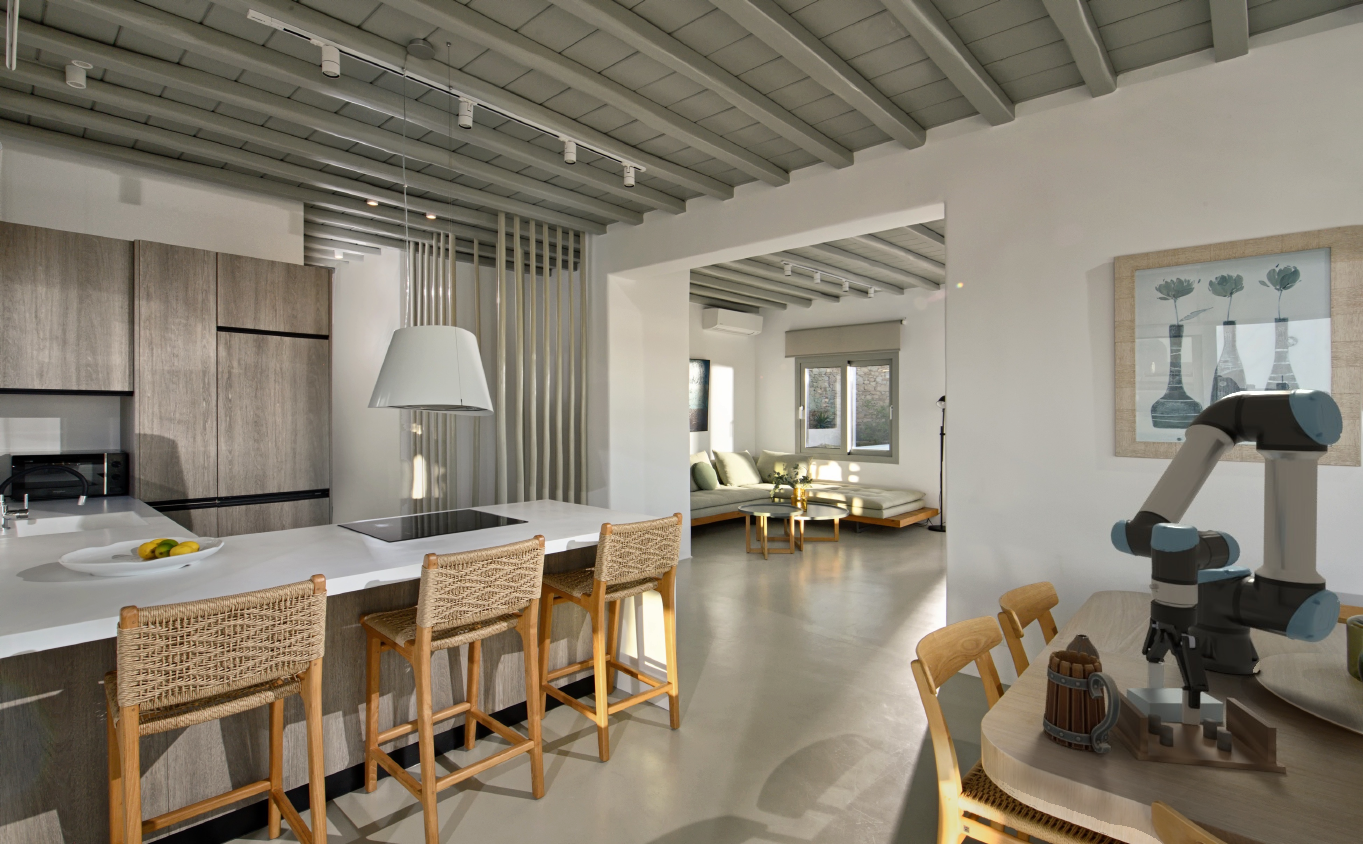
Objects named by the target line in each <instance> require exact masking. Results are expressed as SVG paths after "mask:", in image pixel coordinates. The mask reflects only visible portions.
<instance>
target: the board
mask: <svg viewBox="0 0 1363 844" xmlns="http://www.w3.org/2000/svg"><path fill="white" fill-rule="evenodd" d="M1126 698H1127V699H1128V700H1130V701H1131V702H1132V703H1133V704H1134V705H1135V706H1136V707H1137V708H1138V709H1139V710H1140V711H1141V712H1142V713H1143V714H1144V715H1145V716H1146V717H1148V714H1155V715H1158V716H1160V717H1161V722H1165V723H1183V722H1182V687H1181V688H1179V687H1177V688H1175V687H1174V688H1172V687H1171V688H1170V687H1169V688H1167V687H1166V688H1165V687H1164V688H1147V687H1146V688H1144V687H1135V688H1133V687H1132V688H1126ZM1204 718H1209V719H1213V720H1215V721H1217V723H1224V703H1223V702H1221V701H1219V700H1218V699H1216V698H1214V697H1213V696H1211V695H1209V694H1208V693H1206V692H1201V706H1200V723H1203V719H1204Z"/></svg>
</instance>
